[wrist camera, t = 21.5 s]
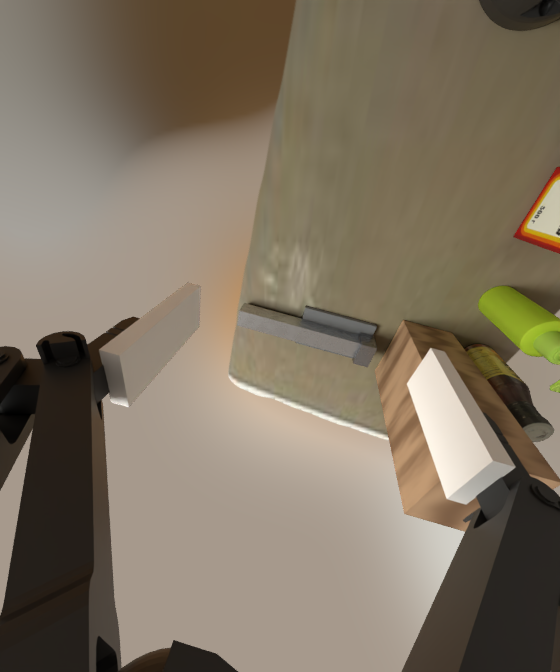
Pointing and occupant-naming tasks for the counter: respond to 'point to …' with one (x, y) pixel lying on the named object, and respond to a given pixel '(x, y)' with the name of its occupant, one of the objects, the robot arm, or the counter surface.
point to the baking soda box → (544, 217)
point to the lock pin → (309, 333)
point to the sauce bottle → (510, 391)
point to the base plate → (337, 323)
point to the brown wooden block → (407, 434)
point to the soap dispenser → (524, 323)
